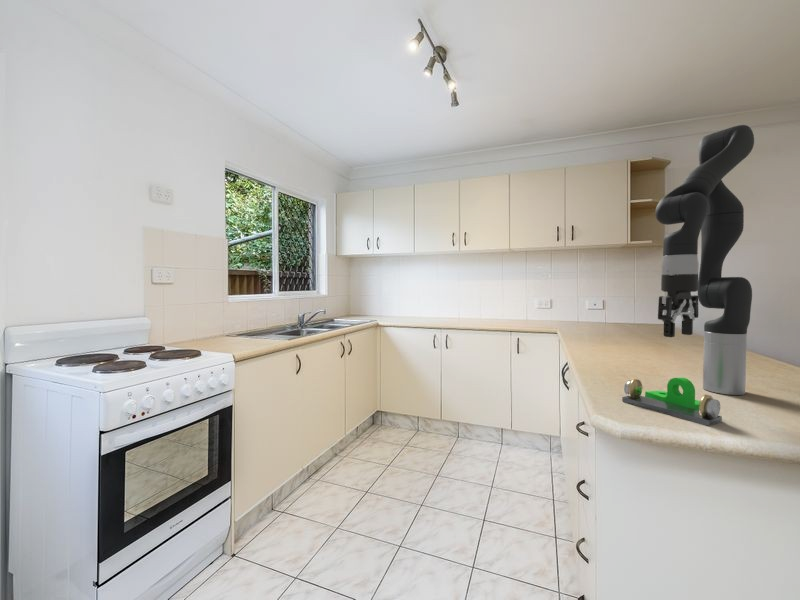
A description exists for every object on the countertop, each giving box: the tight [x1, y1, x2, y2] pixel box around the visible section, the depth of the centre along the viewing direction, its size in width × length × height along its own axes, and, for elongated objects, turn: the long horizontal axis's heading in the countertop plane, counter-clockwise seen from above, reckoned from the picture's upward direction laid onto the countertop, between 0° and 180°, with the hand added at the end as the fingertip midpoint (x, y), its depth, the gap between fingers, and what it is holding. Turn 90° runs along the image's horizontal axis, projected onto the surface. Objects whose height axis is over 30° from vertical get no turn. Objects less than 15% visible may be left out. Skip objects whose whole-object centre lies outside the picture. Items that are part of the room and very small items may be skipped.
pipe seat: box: [621, 378, 723, 427], centre depth 88 cm, size 6×19×6 cm, turn 26°
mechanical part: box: [644, 376, 700, 410], centre depth 93 cm, size 12×6×8 cm, turn 11°
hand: (678, 335), depth 93 cm, fingers open, 8 cm apart
